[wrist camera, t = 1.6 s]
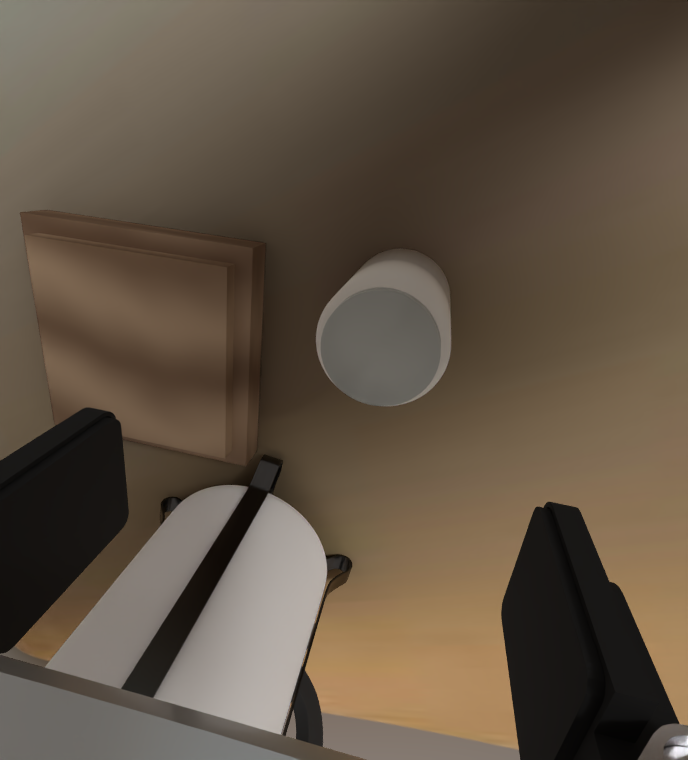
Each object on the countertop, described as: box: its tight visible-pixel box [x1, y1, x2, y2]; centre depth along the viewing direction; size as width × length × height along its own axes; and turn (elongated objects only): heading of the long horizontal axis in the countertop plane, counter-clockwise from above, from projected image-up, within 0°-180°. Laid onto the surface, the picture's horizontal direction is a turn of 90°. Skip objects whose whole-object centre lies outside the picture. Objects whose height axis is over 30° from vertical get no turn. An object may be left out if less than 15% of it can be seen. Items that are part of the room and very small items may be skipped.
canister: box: [316, 249, 451, 406], centre depth 23 cm, size 6×6×9 cm
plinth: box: [20, 210, 266, 466], centre depth 30 cm, size 14×14×3 cm
